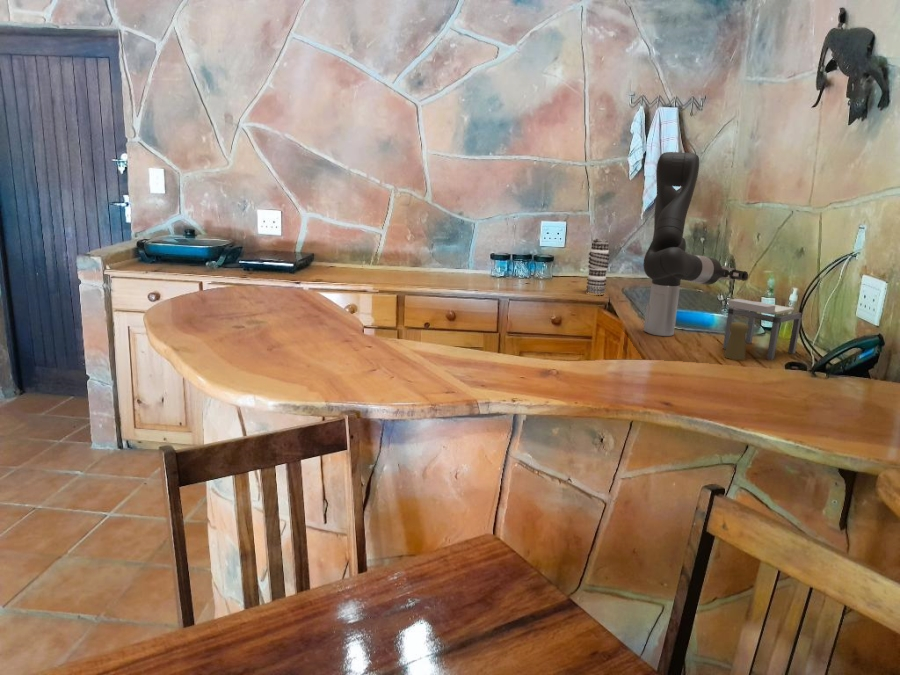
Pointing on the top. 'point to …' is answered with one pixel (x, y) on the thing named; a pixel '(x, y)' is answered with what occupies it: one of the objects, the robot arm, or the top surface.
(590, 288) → the striped stacked cylinder
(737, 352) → the cork
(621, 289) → the top surface
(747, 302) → the trapdoor
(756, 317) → the grey miniature table
